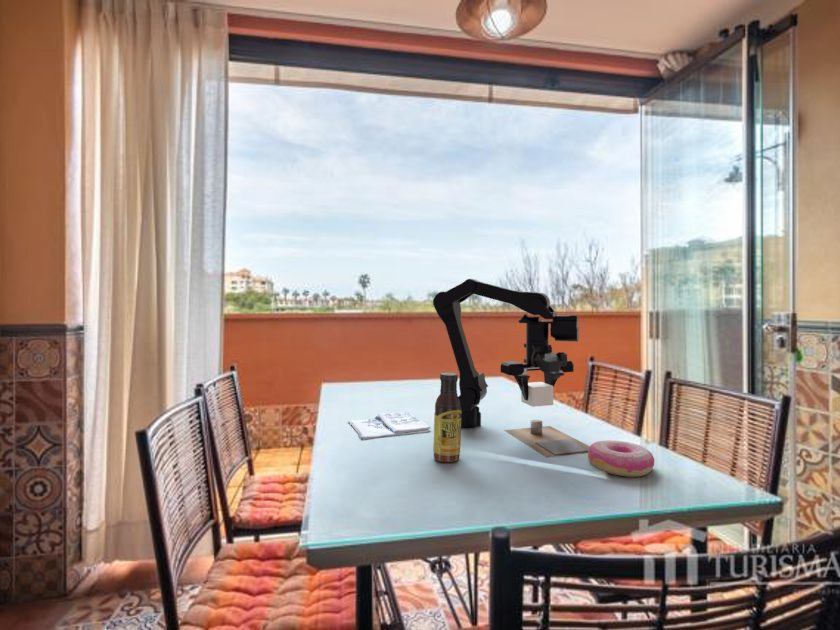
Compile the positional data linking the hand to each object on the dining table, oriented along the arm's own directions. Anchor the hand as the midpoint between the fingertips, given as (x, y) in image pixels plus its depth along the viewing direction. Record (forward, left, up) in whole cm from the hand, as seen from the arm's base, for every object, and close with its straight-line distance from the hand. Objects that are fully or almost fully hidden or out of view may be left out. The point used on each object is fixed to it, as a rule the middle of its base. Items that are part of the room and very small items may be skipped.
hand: (537, 399), depth 126 cm
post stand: (0, -6, -10) cm, 12 cm away
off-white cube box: (0, 0, -1) cm, 1 cm away
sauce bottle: (-28, -9, -10) cm, 31 cm away
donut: (+6, -25, -10) cm, 28 cm away
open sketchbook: (-36, +21, -11) cm, 43 cm away
